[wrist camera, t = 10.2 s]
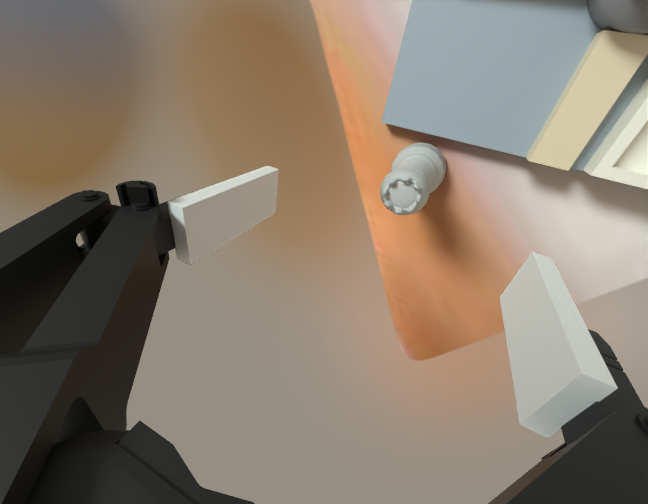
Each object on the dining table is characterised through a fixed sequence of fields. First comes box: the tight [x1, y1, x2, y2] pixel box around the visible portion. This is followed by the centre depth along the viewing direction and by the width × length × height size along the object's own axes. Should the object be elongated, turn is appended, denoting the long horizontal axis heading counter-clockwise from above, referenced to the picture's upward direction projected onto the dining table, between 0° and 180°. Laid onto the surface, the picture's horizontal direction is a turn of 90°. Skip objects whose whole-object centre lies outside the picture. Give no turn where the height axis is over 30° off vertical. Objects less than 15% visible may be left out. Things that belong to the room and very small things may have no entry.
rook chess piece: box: [380, 142, 446, 215], centre depth 21 cm, size 4×4×8 cm
